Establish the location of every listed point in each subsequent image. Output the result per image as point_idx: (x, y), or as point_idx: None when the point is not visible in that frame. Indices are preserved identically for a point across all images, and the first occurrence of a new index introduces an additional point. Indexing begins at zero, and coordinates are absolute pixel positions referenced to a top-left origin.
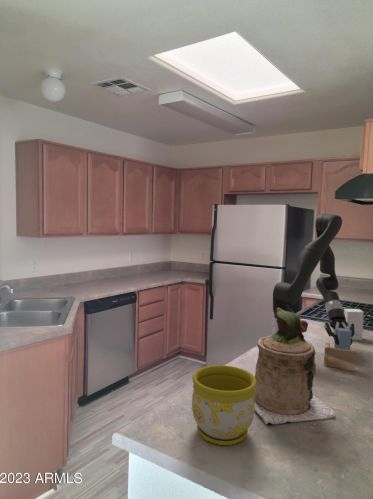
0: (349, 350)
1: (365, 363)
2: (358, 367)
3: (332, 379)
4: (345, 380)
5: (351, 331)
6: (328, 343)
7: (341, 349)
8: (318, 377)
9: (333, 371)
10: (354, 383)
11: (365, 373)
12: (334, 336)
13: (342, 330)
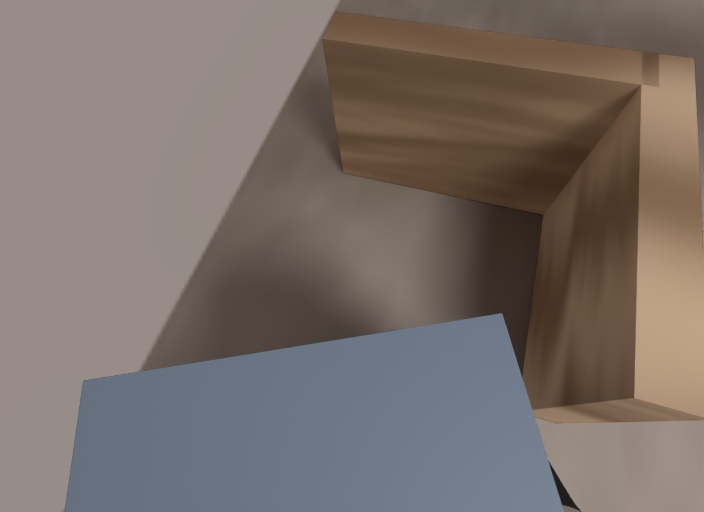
0: (390, 38)
1: (188, 327)
2: (293, 223)
3: (526, 16)
4: (451, 21)
5: (85, 382)
6: (654, 217)
7: (481, 43)
8: (611, 19)
9: None
10: (408, 3)
11: (287, 133)
12: (573, 502)
13: (404, 413)
